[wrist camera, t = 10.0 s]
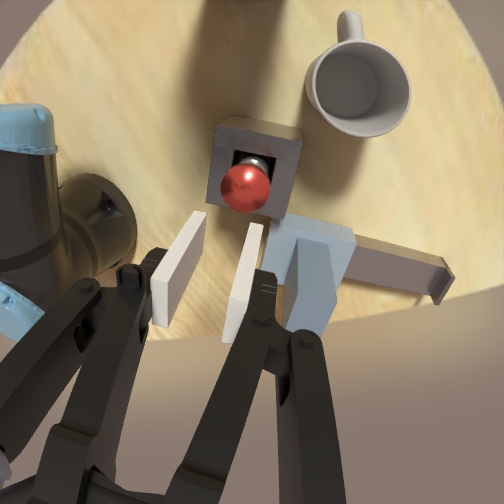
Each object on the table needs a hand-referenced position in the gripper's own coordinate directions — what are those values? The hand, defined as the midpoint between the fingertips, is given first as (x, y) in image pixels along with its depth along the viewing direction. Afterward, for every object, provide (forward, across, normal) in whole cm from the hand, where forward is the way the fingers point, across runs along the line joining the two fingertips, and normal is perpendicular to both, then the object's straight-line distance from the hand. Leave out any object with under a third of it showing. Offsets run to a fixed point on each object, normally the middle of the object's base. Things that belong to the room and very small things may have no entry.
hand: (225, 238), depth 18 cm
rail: (+21, +16, -10) cm, 28 cm away
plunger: (+17, 0, 0) cm, 17 cm away
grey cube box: (+21, 0, 0) cm, 21 cm away
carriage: (+19, +8, -10) cm, 23 cm away
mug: (+21, +7, +12) cm, 25 cm away
